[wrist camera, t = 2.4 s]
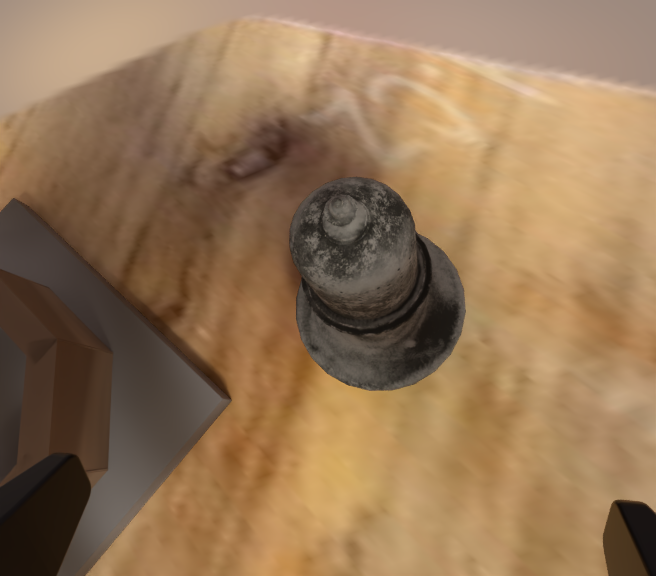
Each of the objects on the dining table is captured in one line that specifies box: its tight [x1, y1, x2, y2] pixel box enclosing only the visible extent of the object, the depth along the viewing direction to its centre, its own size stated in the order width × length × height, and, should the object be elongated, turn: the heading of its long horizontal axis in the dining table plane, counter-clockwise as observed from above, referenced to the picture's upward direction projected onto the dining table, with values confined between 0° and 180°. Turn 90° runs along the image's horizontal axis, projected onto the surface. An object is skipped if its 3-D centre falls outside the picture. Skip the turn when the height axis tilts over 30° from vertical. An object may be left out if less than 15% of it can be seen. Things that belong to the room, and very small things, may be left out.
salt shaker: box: [289, 177, 466, 391], centre depth 16 cm, size 6×6×12 cm
